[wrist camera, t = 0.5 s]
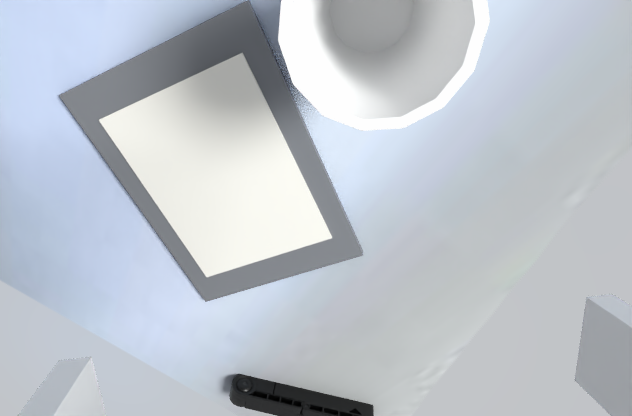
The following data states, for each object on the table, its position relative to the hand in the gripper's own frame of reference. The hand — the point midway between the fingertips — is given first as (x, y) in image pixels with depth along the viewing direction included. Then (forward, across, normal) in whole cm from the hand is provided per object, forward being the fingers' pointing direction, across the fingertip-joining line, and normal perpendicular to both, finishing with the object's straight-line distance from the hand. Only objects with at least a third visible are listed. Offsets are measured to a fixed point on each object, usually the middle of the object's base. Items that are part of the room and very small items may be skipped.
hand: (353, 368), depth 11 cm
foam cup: (+23, +6, +12) cm, 27 cm away
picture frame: (+29, -6, -1) cm, 29 cm away
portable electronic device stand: (+35, -1, -30) cm, 46 cm away
